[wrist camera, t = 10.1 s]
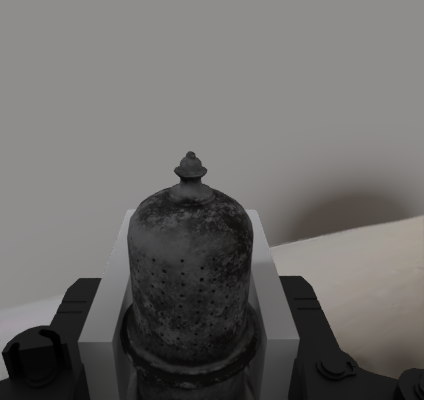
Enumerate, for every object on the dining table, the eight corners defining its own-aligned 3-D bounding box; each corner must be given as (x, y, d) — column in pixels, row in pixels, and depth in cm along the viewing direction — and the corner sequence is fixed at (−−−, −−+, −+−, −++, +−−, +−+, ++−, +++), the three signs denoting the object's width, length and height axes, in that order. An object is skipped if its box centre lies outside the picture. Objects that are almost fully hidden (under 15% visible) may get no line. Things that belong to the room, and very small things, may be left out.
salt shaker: (197, 377, 16) (199, 110, 11) (310, 485, 12) (395, 157, 7) (72, 479, 12) (-15, 146, 7) (179, 679, 9) (163, 283, 3)
